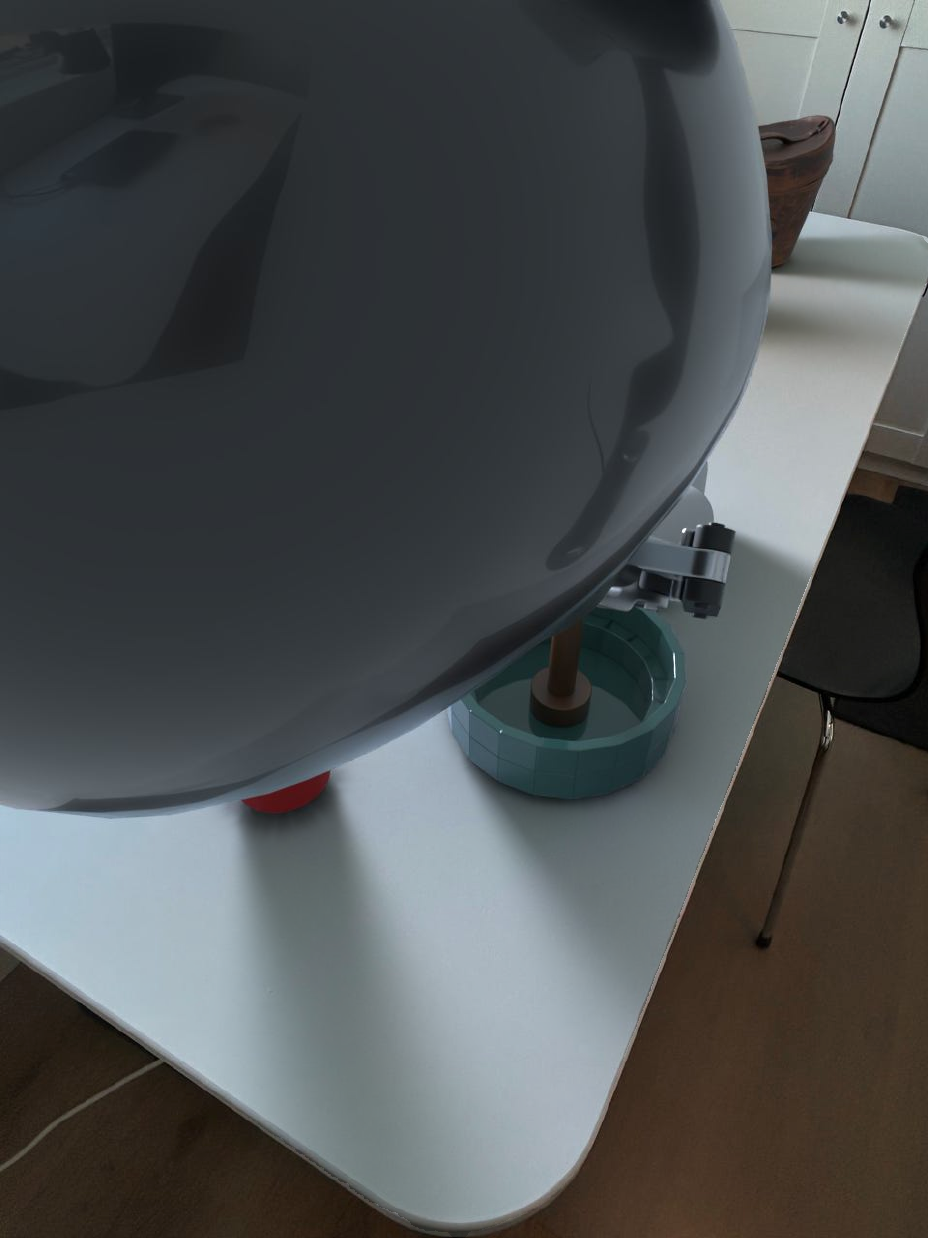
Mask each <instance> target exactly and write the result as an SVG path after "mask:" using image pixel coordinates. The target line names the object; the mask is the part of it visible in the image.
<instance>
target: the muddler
mask: <svg viewBox="0 0 928 1238" xmlns="http://www.w3.org/2000/svg"><path fill="white" fill-rule="evenodd" d="M583 622H584V618H583V619H582V620H580V621H579V622H578V623H576V624H575V625H573V626H572V627H570V628H568V629H567V630H565V631H563V632H561V633H559V634H557V635H555V636H553V637H552V642H551V653H550V664H549V667H546V668H544V669H542V670H540V671H539V672H537V674H536V675H535V676H534V677H533V679H532V682H531V690H530V709H531V711H532V713H533V714H534V716H535V717H536V718H537V719H538V720H540V721H541V722H543V723H544V724H547V725H549V726H553V727H570V726H573V725H576V724H578V723H580V722H581V721H582V720H583V719H584V718H585V717H586V716H587V714H588V712H589V707H590V700H591V693H592V687H591V683H590V681H589V679H588V678H587V677H586V676H585V675H584V674H583V673H582V672H581V671H579V670H578V662H579V654H580V646H581V638H582V630H583Z"/></svg>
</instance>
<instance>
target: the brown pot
mask: <svg viewBox="0 0 928 1238" xmlns="http://www.w3.org/2000/svg"><path fill="white" fill-rule="evenodd" d="M758 130H759V135H760V141H761V146H762V152H763V158H764V163H765V169H766V174H767V186H768V197H769V209H770V220H771V232H772V260H771V268H774V267H779V266H781V265H783V264H784V263H786V262H787V261H788V260H789V259H790V257H791V255H792V253H793V251H794V249H795V247H796V244H797V242H798V241H799V237H800V235H801V232H802V230H803V228H804V226H805V224H806V221H807V220H808V218H809V217H808V216H809V214H810V212H811V209H812V208H813V205H814V203H815V200H816V199H817V196H818V193H819V192H820V188H821V186H822V184H823V181H824V178H825V177H826V176H827V174H828V172H829V170H830V167H831V165H832V164H833V161H834V150H835V145H836V137H837V128H836V123H835V121H834V120H833V118H832V117H830V116H827V115H822V114H821V115H820V114H819V115H818V114H817V115H810V116H809V115H808V116H803V117H801V118H797V119H789V120H783V121H777V122H772V123H768V124H761V125H758Z"/></svg>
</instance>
